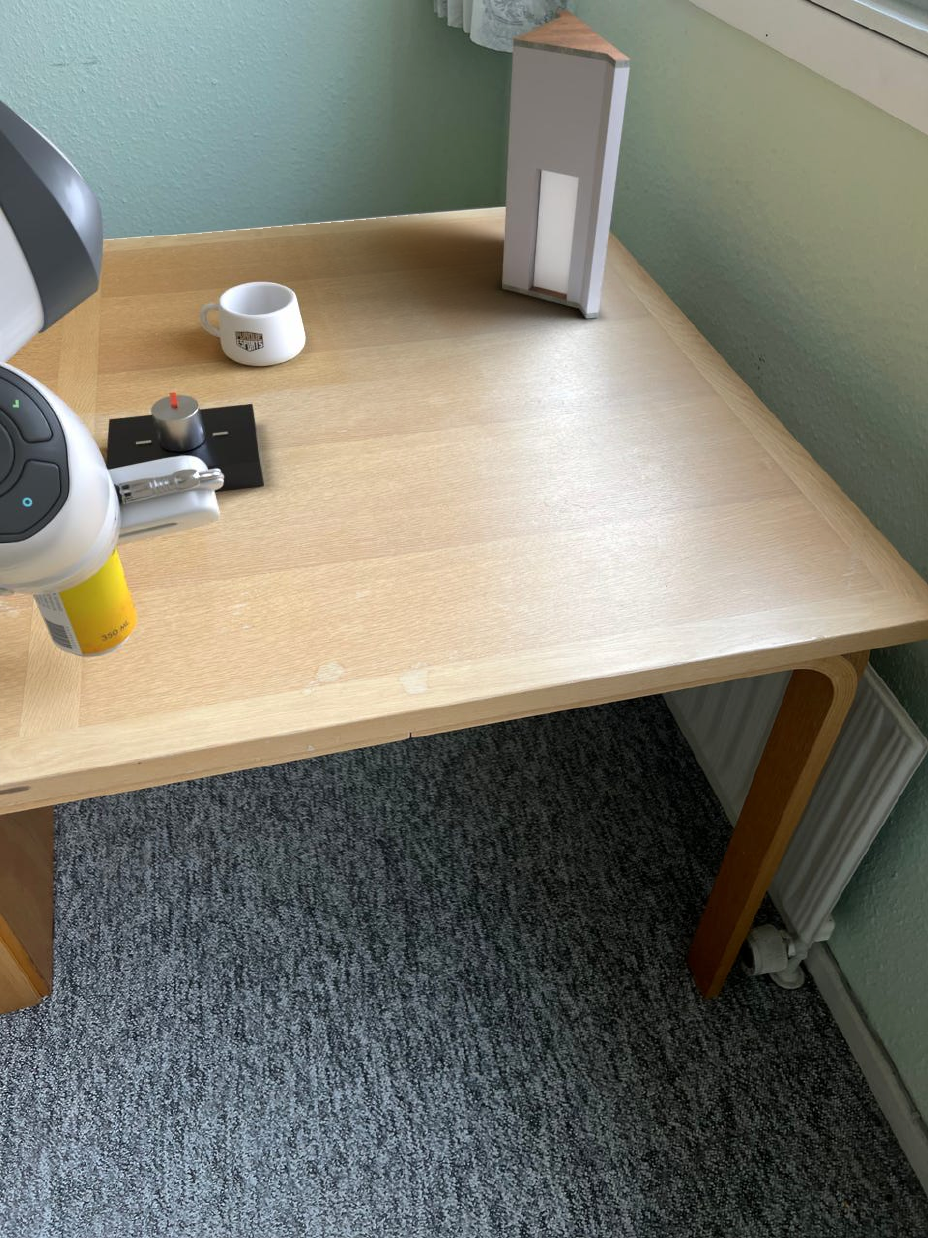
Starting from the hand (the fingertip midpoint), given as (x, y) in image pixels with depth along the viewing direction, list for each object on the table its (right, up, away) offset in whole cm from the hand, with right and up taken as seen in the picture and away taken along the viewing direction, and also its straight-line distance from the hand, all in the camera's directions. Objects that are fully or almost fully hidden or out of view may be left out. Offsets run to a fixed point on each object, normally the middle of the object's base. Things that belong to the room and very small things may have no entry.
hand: (63, 540), depth 62 cm
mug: (+3, +26, +45) cm, 52 cm away
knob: (0, +12, +26) cm, 29 cm away
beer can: (0, -6, +6) cm, 9 cm away
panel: (0, +10, +28) cm, 30 cm away
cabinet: (+37, +38, +58) cm, 78 cm away
